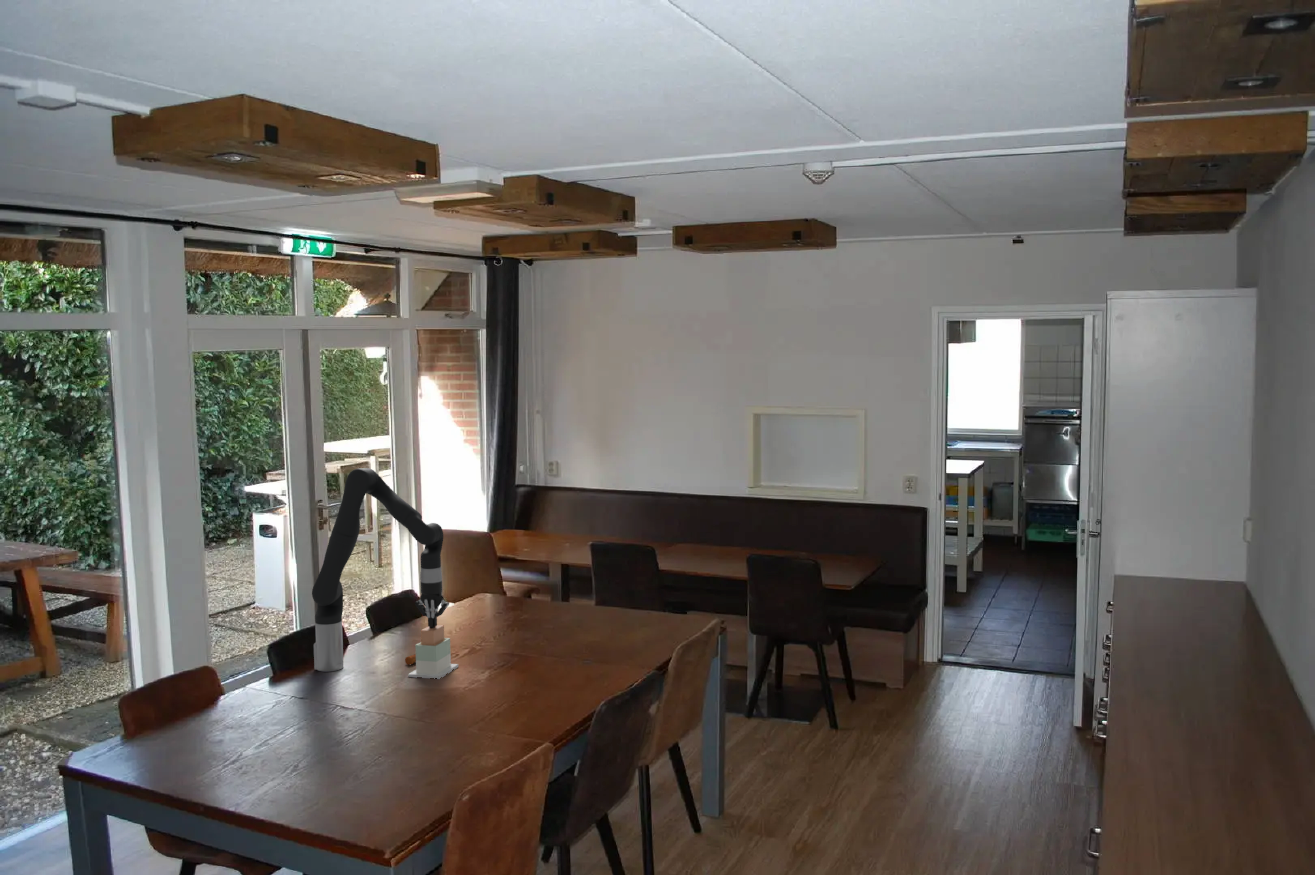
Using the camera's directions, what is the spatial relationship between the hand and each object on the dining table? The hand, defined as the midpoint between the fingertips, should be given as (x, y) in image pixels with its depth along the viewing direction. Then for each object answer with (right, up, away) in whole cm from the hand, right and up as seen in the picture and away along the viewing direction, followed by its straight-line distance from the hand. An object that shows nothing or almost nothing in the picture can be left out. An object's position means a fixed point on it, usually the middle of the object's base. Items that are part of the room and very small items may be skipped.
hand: (432, 627), depth 375 cm
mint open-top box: (0, -16, +1) cm, 16 cm away
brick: (0, -6, 0) cm, 6 cm away
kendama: (-6, -15, +19) cm, 25 cm away
